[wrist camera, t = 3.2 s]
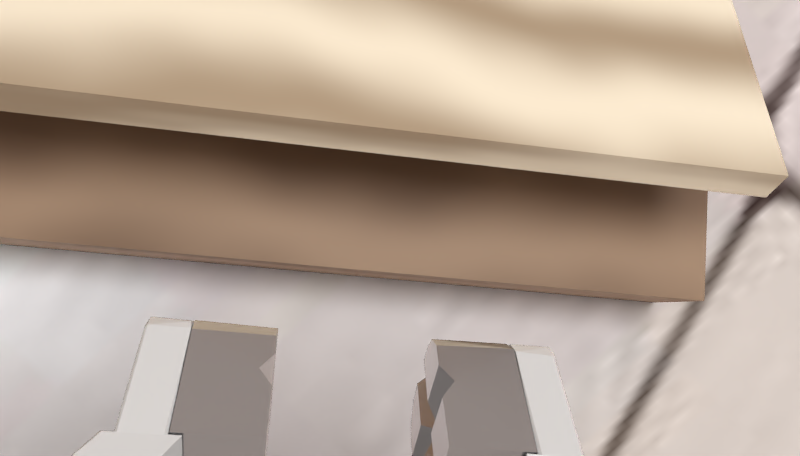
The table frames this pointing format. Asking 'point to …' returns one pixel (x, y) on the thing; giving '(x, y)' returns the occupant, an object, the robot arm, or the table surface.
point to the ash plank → (416, 80)
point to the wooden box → (344, 212)
